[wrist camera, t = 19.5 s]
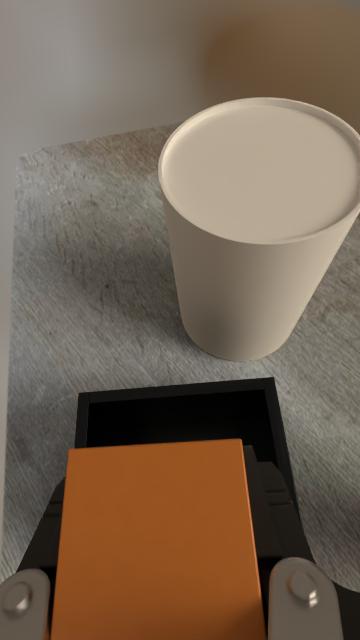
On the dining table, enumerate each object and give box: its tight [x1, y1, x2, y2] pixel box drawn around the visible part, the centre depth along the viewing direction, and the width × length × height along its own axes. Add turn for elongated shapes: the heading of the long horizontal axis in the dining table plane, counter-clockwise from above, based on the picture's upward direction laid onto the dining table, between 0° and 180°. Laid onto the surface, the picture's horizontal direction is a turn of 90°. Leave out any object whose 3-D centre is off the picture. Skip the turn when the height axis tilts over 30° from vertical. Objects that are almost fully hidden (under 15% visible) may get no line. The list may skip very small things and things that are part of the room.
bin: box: [74, 377, 304, 532], centre depth 25 cm, size 14×14×13 cm
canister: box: [158, 97, 360, 361], centre depth 30 cm, size 14×14×20 cm
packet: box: [50, 439, 267, 640], centre depth 10 cm, size 4×5×8 cm
